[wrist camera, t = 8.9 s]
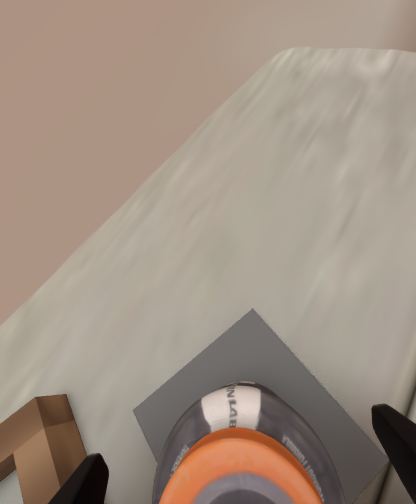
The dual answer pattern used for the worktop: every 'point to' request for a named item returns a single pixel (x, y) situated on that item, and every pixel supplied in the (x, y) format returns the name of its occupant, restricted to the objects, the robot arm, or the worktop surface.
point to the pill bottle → (244, 453)
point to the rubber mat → (274, 378)
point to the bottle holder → (41, 447)
